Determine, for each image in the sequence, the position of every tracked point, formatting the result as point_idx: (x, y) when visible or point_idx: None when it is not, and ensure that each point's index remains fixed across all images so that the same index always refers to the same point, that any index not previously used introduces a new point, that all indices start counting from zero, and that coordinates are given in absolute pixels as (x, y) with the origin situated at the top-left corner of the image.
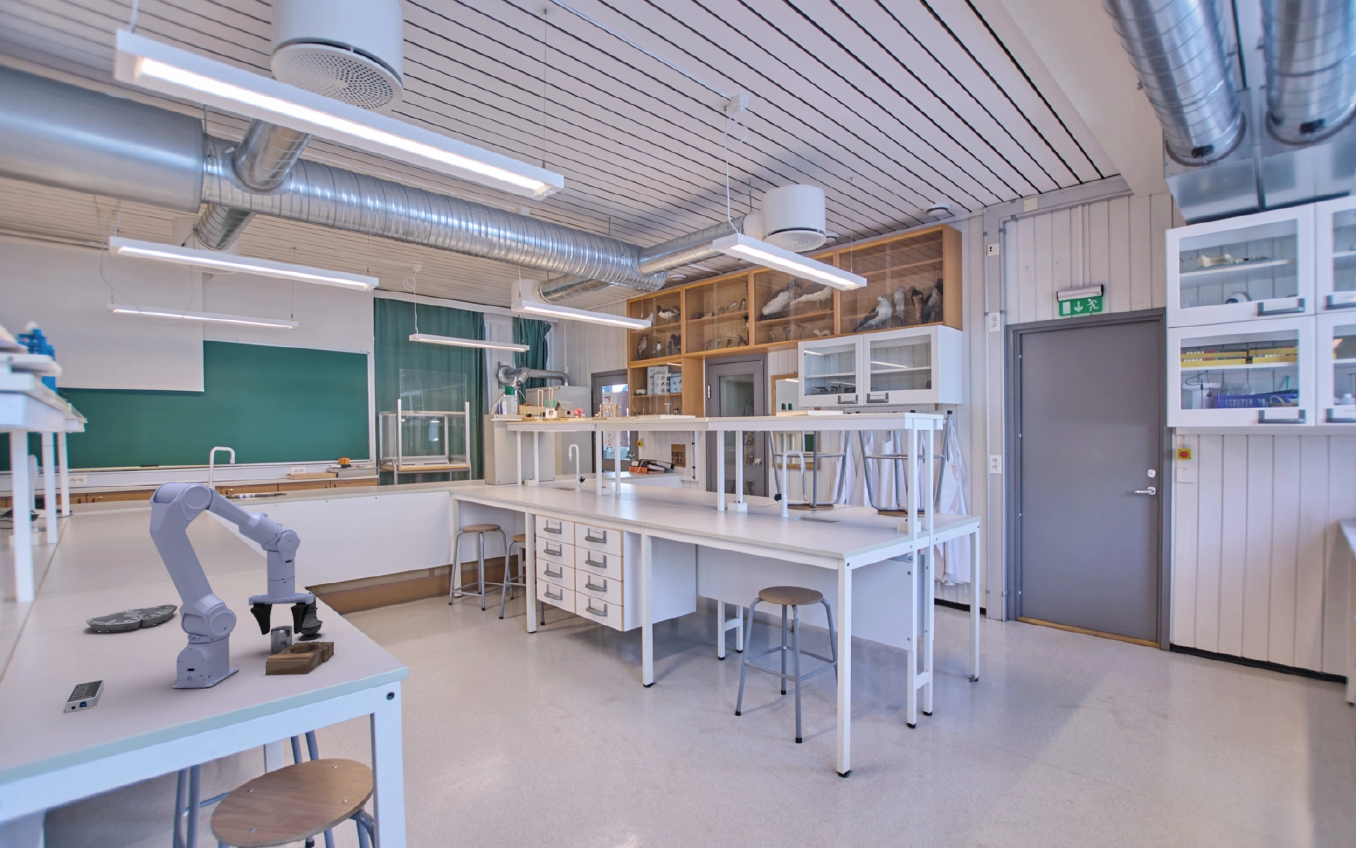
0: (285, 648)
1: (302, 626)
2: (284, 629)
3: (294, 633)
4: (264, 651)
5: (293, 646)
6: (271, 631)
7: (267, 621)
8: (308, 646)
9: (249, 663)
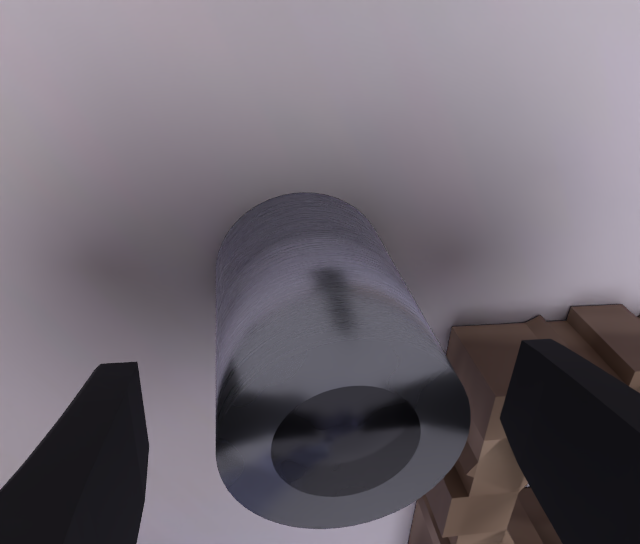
0: (458, 503)
1: (597, 370)
2: (408, 475)
3: (505, 424)
4: (97, 228)
5: (506, 468)
6: (263, 510)
7: (100, 533)
8: None
9: (177, 459)
